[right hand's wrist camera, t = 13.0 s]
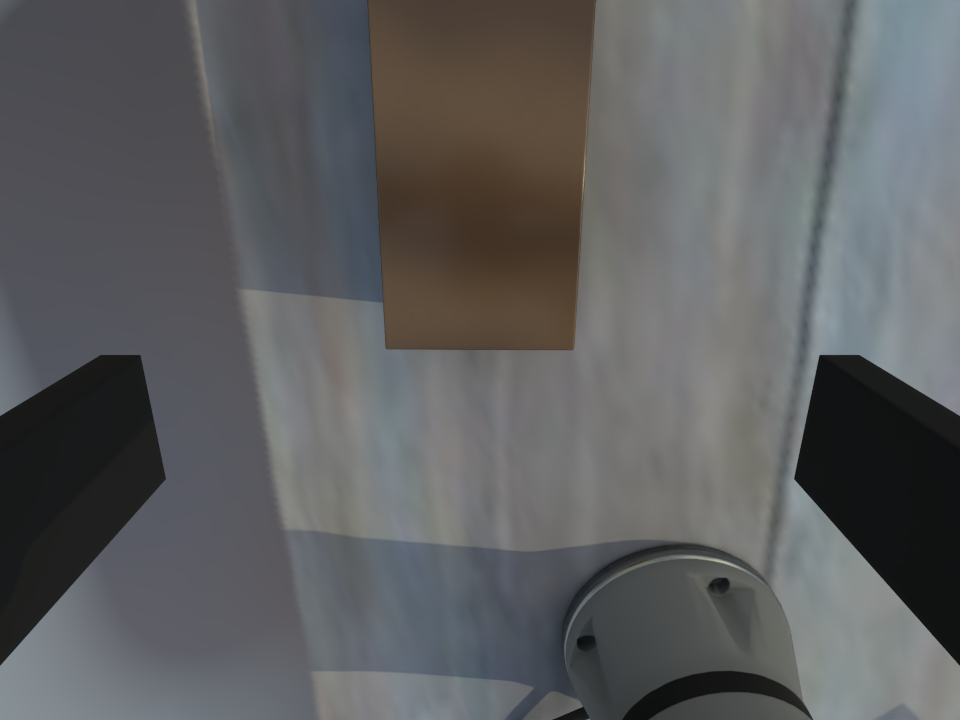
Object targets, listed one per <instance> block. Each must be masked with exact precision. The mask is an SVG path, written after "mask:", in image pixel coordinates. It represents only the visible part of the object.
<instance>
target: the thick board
mask: <svg viewBox="0 0 960 720" xmlns="http://www.w3.org/2000/svg"><path fill="white" fill-rule="evenodd" d="M367 1H368V20H369V39H370V59H371V78H372V97H373V116H374V135H375V155H376V174H377V193H378V212H379V231H380V251H381V270H382V289H383V308H384V327H385V347H386V349H434V350H574V343H575V327H576V311H577V295H578V279H579V262H580V246H581V230H582V214H583V198H584V182H585V166H586V150H587V134H588V118H589V102H590V85H591V69H592V53H593V37H594V21H595V5H596V0H367Z"/></svg>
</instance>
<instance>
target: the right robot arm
mask: <svg viewBox="0 0 960 720" xmlns="http://www.w3.org/2000/svg"><path fill="white" fill-rule="evenodd" d="M165 479H166V477H165V472H164V468H163V463H162V458H161V453H160V448H159V443H158V438H157V434H156V429H155V424H154V419H153V414H152V409H151V404H150V400H149V395H148V390H147V385H146V380H145V375H144V370H143V366H142V361H141V356H140V355H100V356H99V357H97V358H95V359H94V360H92V361H90V362H89V363H87V364H85V365H84V366H82V367H80V368H79V369H77V370H75V371H74V372H72V373H70V374H69V375H67V376H65V377H64V378H62V379H61V380H59V381H57V382H56V383H54V384H52V385H51V386H49V387H47V388H46V389H44V390H42V391H41V392H39V393H38V394H36V395H34V396H33V397H31V398H29V399H28V400H26V401H24V402H23V403H21V404H19V405H18V406H16V407H14V408H13V409H11V410H9V411H8V412H6V413H5V414H3V415H1V416H0V665H1V664H2V663H3V662H4V661H5V660H6V658H7V657H8V656H9V655H10V654H11V653H12V652H13V650H14V649H15V648H16V647H17V646H18V645H19V644H20V643H21V641H22V640H23V639H24V638H25V637H26V636H27V635H28V634H29V632H30V631H31V630H32V629H33V628H34V627H35V626H36V625H37V623H38V622H39V621H40V620H41V619H42V618H43V617H44V616H45V614H46V613H47V612H48V611H49V610H50V609H51V608H52V607H53V605H54V604H55V603H56V602H57V601H58V600H59V599H60V598H61V596H62V595H63V594H64V593H65V592H66V591H67V590H68V588H69V587H70V586H71V585H72V584H73V583H74V582H75V581H76V580H77V578H78V577H79V576H80V575H81V574H82V573H83V572H84V571H85V569H86V568H87V567H88V566H89V565H90V564H91V563H92V562H93V560H94V559H95V558H96V557H97V556H98V555H99V554H100V553H101V551H102V550H103V549H104V548H105V547H106V546H107V545H108V544H109V542H110V541H111V540H112V539H113V538H114V537H115V536H116V534H117V533H118V532H119V531H120V530H121V529H122V528H123V527H124V526H125V524H126V523H127V522H128V521H129V520H130V519H131V518H132V517H133V515H134V514H135V513H136V512H137V511H138V510H139V509H140V508H141V506H142V505H143V504H144V503H145V502H146V501H147V500H148V498H149V497H150V496H151V495H152V494H153V493H154V492H155V491H156V489H157V488H158V487H159V486H160V485H161V484H162V483H163V482H164V480H165ZM794 479H795V480H796V482H797V483H798V484H799V485H800V486H801V487H802V488H803V489H804V491H805V492H806V493H807V494H808V495H809V496H810V497H811V499H812V500H813V501H814V502H815V503H816V504H817V505H818V506H819V508H820V509H821V510H822V511H823V512H824V513H825V514H826V515H827V517H828V518H829V519H830V520H831V521H832V522H833V523H834V524H835V526H836V527H837V528H838V529H839V530H840V531H841V532H842V533H843V535H844V536H845V537H846V538H847V539H848V540H849V541H850V542H851V544H852V545H853V546H854V547H855V548H856V549H857V550H858V551H859V553H860V554H861V555H862V556H863V557H864V558H865V559H866V560H867V562H868V563H869V564H870V565H871V566H872V567H873V568H874V569H875V571H876V572H877V573H878V574H879V575H880V576H881V577H882V578H883V580H884V581H885V582H886V583H887V584H888V585H889V586H890V587H891V589H892V590H893V591H894V592H895V593H896V594H897V595H898V596H899V598H900V599H901V600H902V601H903V602H904V603H905V604H906V605H907V607H908V608H909V609H910V610H911V611H912V612H913V613H914V614H915V616H916V617H917V618H918V619H919V620H920V621H921V622H922V623H923V625H924V626H925V627H926V628H927V629H928V630H929V631H930V633H931V634H932V635H933V636H934V637H935V638H936V639H937V640H938V642H939V643H940V644H941V645H942V646H943V647H944V648H945V649H946V651H947V652H948V653H949V654H950V655H951V656H952V657H953V658H954V660H955V661H956V662H957V663H958V664H959V665H960V416H959V415H957V414H956V413H954V412H952V411H951V410H949V409H947V408H946V407H944V406H942V405H941V404H939V403H937V402H936V401H934V400H932V399H931V398H929V397H928V396H926V395H924V394H923V393H921V392H919V391H918V390H916V389H914V388H913V387H911V386H909V385H908V384H906V383H904V382H903V381H901V380H899V379H898V378H896V377H895V376H893V375H891V374H890V373H888V372H886V371H885V370H883V369H881V368H880V367H878V366H876V365H875V364H873V363H871V362H870V361H868V360H866V359H865V358H863V357H862V356H860V355H820V356H819V361H818V365H817V370H816V375H815V380H814V385H813V390H812V395H811V400H810V404H809V409H808V414H807V419H806V424H805V429H804V434H803V438H802V443H801V448H800V453H799V458H798V463H797V468H796V472H795V477H794ZM562 645H563V652H564V658H565V664H566V669H567V672H568V676H569V678H570V681H571V684H572V686H573V689H574V691H575V693H576V695H577V697H578V698H579V700H580V702H581V703H582V705H583V707H582V708H580V709H577V710H575V711H573V712H570V713H568V714H565V715H563V716H561V717H558V718H556V719H553V720H586V719H589V718H590V719H591V720H813V719H812V717H811V715H810V713H809V711H808V710H807V708H806V706H805V704H804V702H803V698H802V692H801V687H800V681H799V676H798V670H797V665H796V659H795V653H794V648H793V642H792V637H791V631H790V627H789V624H788V621H787V619H786V616H785V613H784V611H783V609H782V606H781V604H780V603H779V601H778V599H777V597H776V596H775V594H774V593H773V591H772V590H771V588H770V586H769V585H768V583H767V582H766V581H765V579H764V578H763V577H762V576H761V575H760V574H759V573H758V572H757V571H756V570H755V569H754V568H752V567H751V566H750V565H749V564H747V563H745V562H744V561H742V560H741V559H739V558H737V557H735V556H733V555H730V554H728V553H725V552H722V551H719V550H715V549H712V548H706V547H701V546H691V545H676V546H664V547H658V548H653V549H648V550H644V551H641V552H638V553H635V554H632V555H630V556H627V557H625V558H623V559H621V560H619V561H617V562H615V563H613V564H611V565H610V566H608V567H606V568H605V569H603V570H602V571H601V572H599V573H598V574H597V575H595V576H594V577H593V578H592V579H591V580H590V581H589V582H588V583H587V584H586V585H585V586H584V587H583V588H582V589H581V591H580V592H579V593H578V595H577V596H576V597H575V599H574V601H573V602H572V604H571V606H570V608H569V610H568V612H567V615H566V618H565V621H564V626H563V633H562Z"/></svg>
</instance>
